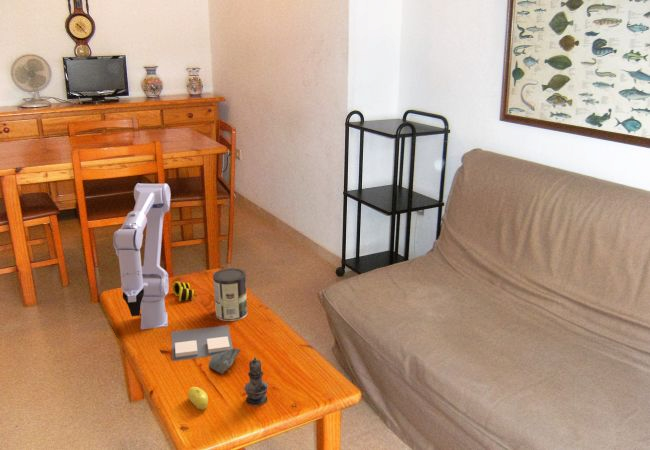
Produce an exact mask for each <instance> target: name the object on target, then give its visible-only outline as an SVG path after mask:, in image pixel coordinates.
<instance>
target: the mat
mask: <svg viewBox="0 0 650 450" xmlns="http://www.w3.org/2000/svg"><path fill="white" fill-rule="evenodd" d="M170 334H171V337H170V338H171V359H172V362H178V361H185V360H192V359H198V358H199V359H200V358H207V357H212V356H213V355H215V354H219V353H214V354H209V353H208V346H207V339H210V338H218V337H226V336H228V340H229V345H230V349H232V348H233V349H234V347H233V342H232V339H231V338H232V337H231V334H230V329H229V325H228V324H227V325H219V326H218V325H217V326H211V327H201V328H194V329H185V330H176V331H171V332H170ZM194 340H196V342H197V351H198V356H191V357H184V358H176V354H175V343H178V342H186V341H194Z"/></svg>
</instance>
